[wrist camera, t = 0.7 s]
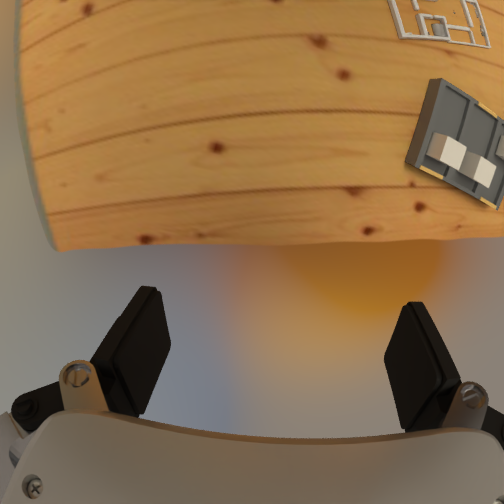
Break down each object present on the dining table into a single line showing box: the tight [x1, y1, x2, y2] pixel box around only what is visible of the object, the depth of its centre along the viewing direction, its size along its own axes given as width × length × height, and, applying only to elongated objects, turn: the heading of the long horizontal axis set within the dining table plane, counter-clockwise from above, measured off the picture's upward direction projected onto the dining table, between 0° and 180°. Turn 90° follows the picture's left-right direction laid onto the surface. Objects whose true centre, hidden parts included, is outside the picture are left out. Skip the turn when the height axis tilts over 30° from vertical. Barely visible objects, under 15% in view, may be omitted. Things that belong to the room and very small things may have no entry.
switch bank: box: [405, 78, 504, 210], centre depth 30 cm, size 12×16×4 cm
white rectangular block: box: [425, 132, 467, 170], centre depth 28 cm, size 3×3×4 cm
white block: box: [457, 151, 496, 188], centre depth 28 cm, size 3×3×4 cm
